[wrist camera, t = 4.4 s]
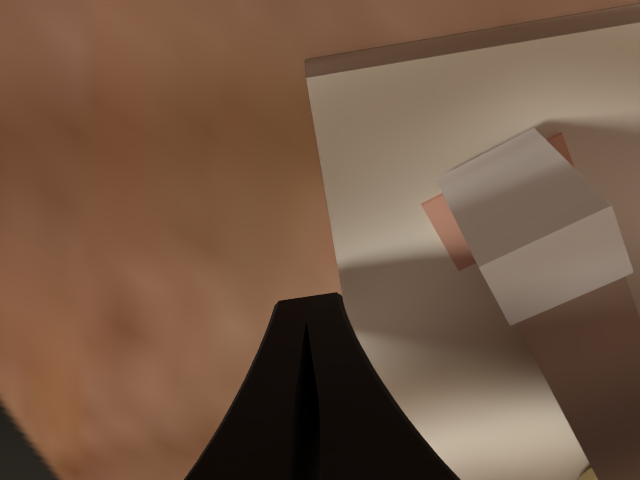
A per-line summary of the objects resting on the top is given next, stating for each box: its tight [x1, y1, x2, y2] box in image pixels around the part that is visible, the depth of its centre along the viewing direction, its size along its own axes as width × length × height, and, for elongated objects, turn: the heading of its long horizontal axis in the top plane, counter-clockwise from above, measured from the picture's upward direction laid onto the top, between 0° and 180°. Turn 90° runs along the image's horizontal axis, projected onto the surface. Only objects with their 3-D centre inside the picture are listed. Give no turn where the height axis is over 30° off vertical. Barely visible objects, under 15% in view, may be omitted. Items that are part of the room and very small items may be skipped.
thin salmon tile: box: [421, 132, 575, 271], centre depth 11 cm, size 3×2×1 cm, turn 121°
